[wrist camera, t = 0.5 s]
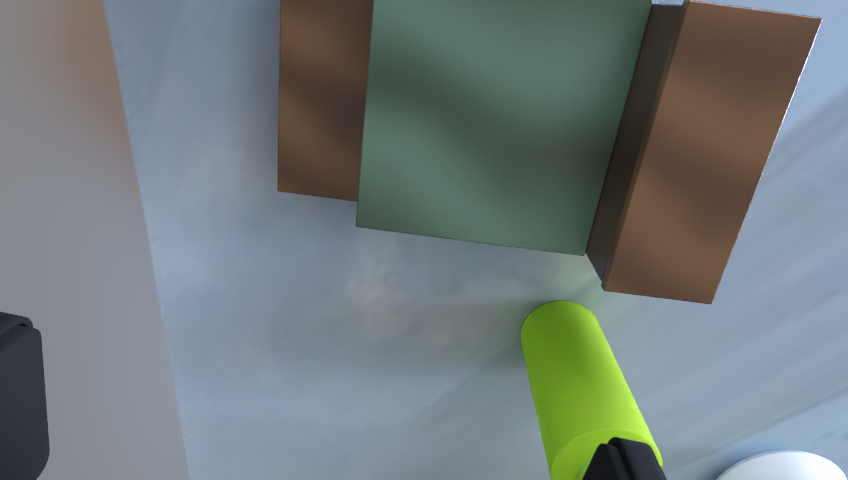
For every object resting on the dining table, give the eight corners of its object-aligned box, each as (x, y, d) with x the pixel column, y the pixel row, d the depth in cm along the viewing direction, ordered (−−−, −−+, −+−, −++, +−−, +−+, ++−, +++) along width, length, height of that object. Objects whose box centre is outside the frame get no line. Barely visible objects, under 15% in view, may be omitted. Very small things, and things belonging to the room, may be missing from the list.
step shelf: (295, -45, 32) (225, -65, 22) (705, 11, 32) (824, 18, 22) (289, 177, 37) (231, 244, 27) (640, 222, 38) (711, 305, 27)
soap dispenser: (625, 338, 41) (768, 610, 23) (543, 378, 43) (616, 660, 25) (589, 280, 39) (715, 525, 21) (505, 323, 41) (555, 585, 23)
